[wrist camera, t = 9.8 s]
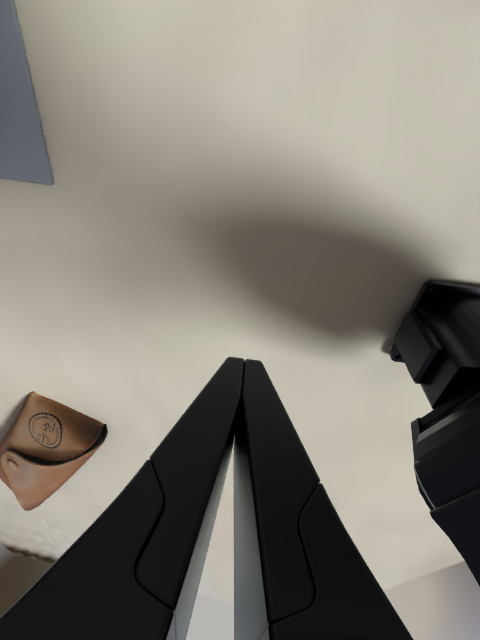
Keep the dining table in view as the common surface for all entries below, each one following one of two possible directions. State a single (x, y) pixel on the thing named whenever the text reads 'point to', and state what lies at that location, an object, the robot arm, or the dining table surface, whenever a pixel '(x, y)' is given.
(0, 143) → the mat
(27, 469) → the sunglasses case
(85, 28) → the dining table surface
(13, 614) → the robot arm
